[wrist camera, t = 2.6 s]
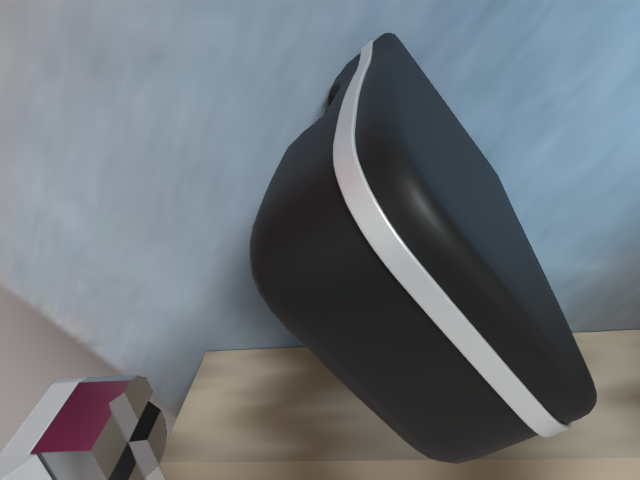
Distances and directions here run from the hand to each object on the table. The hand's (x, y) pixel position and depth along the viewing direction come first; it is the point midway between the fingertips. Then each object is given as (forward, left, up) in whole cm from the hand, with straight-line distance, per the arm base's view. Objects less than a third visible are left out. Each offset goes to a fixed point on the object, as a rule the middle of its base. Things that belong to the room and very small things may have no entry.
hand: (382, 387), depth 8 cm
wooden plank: (-3, +10, -11) cm, 15 cm away
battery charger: (-1, 0, -12) cm, 12 cm away
